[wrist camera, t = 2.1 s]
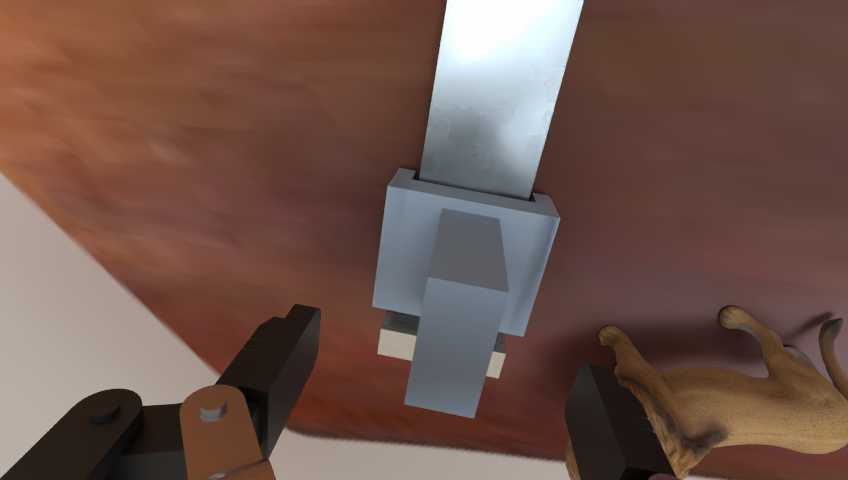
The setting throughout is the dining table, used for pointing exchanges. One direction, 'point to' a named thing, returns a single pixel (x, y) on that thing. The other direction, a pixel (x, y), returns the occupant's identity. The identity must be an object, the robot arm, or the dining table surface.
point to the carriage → (459, 280)
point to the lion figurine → (737, 398)
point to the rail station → (490, 112)
